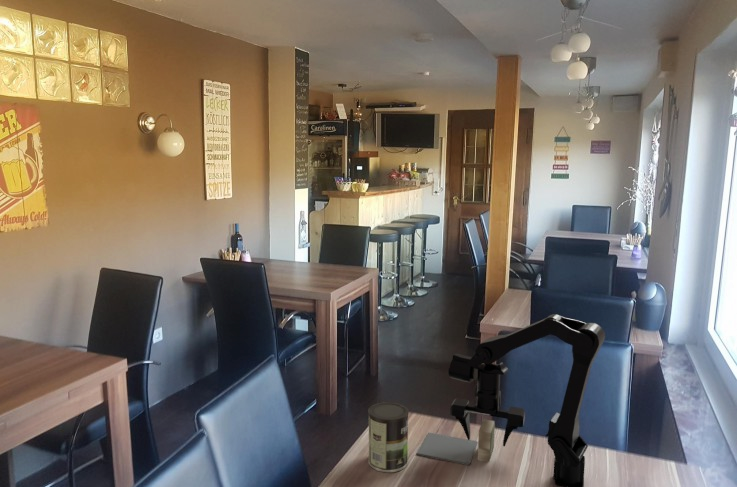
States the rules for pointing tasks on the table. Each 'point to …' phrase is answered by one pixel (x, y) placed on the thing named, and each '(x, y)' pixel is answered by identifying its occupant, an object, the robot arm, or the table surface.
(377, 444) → the coffee can
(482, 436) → the beech board
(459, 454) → the slate mat
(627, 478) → the table surface
